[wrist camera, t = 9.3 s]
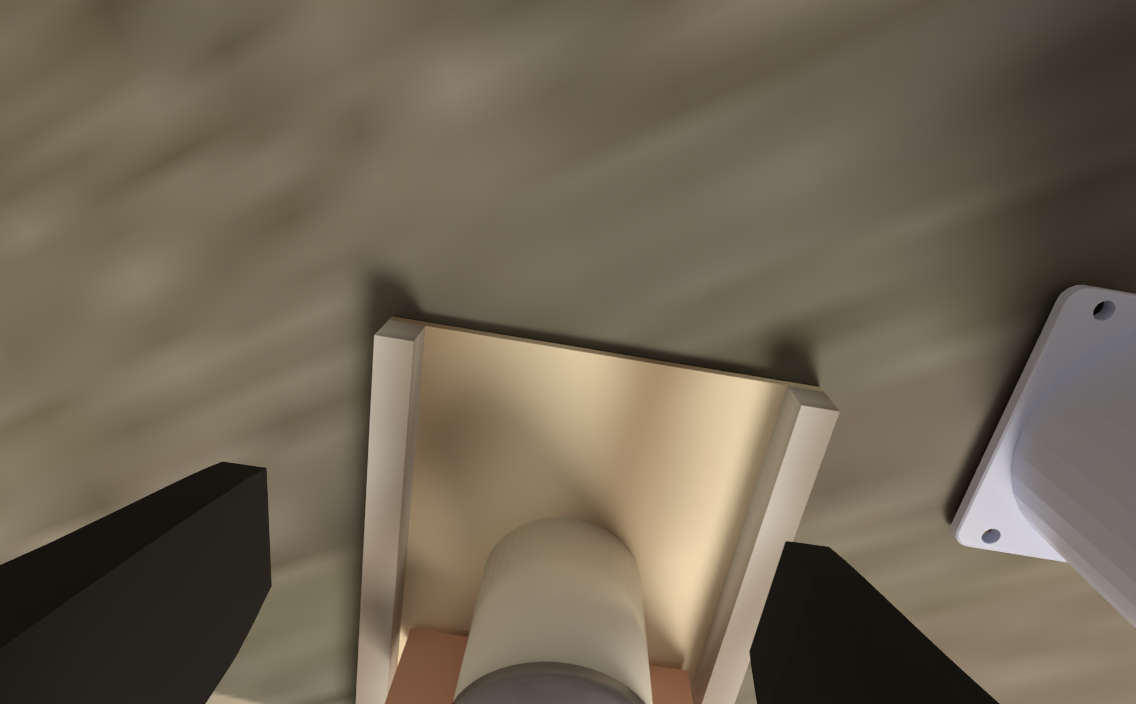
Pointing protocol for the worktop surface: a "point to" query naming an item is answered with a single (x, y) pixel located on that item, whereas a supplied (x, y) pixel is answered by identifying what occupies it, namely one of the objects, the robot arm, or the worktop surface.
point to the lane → (579, 486)
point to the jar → (557, 621)
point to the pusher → (437, 659)
